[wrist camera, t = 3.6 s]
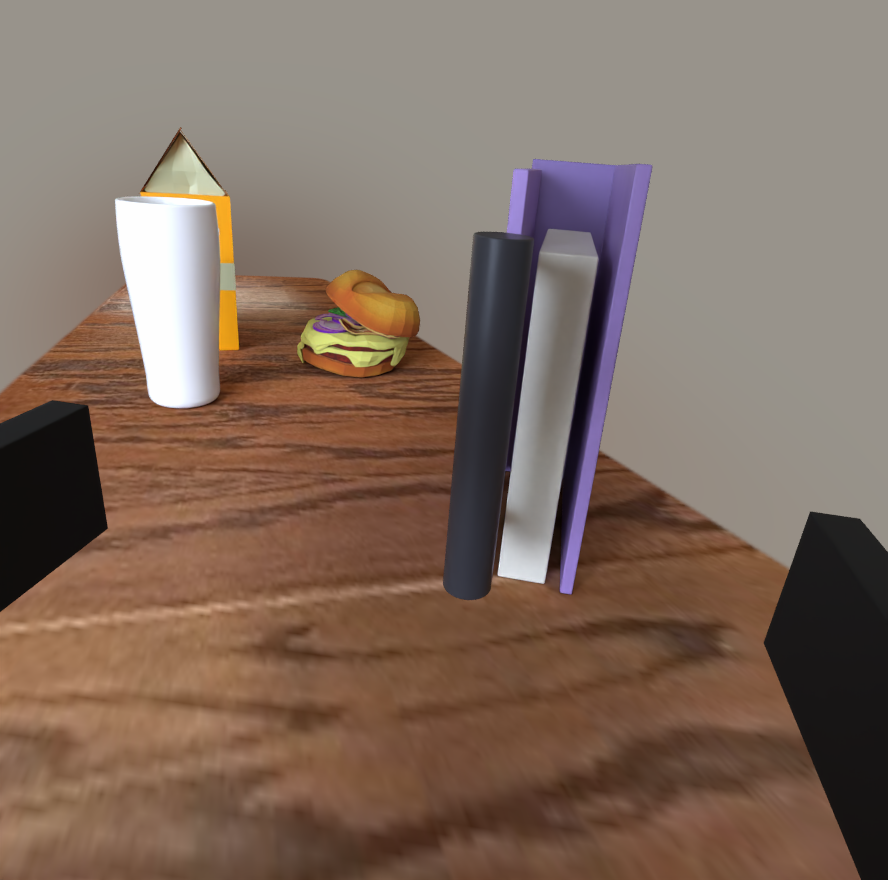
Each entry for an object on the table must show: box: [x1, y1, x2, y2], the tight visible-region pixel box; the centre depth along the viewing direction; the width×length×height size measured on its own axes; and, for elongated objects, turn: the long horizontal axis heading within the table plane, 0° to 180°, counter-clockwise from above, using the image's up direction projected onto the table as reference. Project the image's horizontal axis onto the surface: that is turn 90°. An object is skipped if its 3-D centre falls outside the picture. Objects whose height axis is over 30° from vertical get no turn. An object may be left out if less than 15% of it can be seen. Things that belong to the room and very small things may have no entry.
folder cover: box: [443, 169, 542, 600], centre depth 31 cm, size 2×18×18 cm, turn 169°
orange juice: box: [140, 127, 239, 350], centre depth 63 cm, size 8×9×20 cm
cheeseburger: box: [297, 270, 420, 378], centre depth 61 cm, size 10×11×10 cm
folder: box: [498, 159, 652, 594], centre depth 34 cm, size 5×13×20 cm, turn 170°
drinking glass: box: [115, 196, 220, 408], centre depth 48 cm, size 7×7×15 cm
